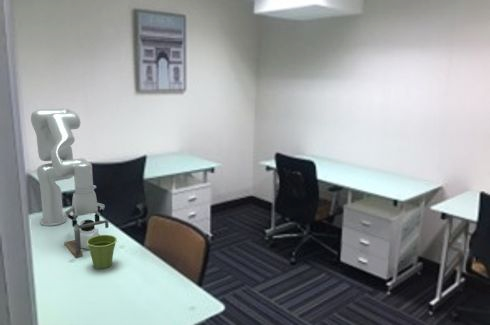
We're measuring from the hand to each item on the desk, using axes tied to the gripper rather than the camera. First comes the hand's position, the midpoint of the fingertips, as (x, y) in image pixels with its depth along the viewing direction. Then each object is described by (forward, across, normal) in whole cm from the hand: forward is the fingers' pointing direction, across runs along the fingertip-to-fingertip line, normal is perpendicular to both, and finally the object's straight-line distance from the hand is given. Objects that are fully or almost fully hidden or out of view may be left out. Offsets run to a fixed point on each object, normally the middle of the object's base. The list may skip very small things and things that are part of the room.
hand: (86, 225), depth 183 cm
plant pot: (+10, +1, +22) cm, 24 cm away
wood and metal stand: (+10, 0, 0) cm, 10 cm away
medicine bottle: (+10, 0, 0) cm, 10 cm away
